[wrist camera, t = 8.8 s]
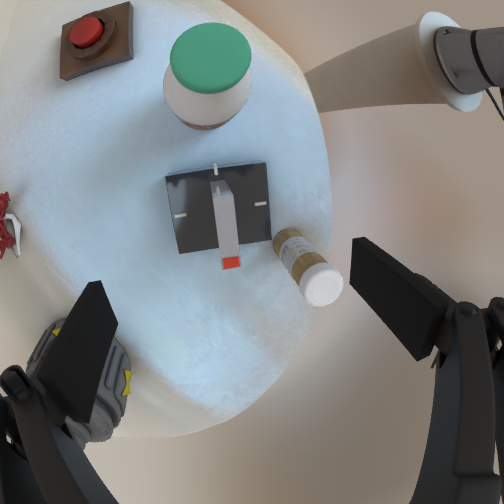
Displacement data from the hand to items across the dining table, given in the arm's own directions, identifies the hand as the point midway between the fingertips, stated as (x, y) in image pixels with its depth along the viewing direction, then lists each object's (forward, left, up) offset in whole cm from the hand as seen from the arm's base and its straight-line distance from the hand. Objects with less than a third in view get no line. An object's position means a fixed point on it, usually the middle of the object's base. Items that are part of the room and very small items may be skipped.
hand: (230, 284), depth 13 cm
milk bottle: (0, -12, -24) cm, 27 cm away
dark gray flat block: (-1, +2, -24) cm, 24 cm away
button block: (+13, -24, -24) cm, 36 cm away
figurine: (+34, -2, -24) cm, 42 cm away
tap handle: (-1, +2, -21) cm, 21 cm away
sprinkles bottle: (-10, +9, -24) cm, 27 cm away
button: (+13, -24, -20) cm, 34 cm away
